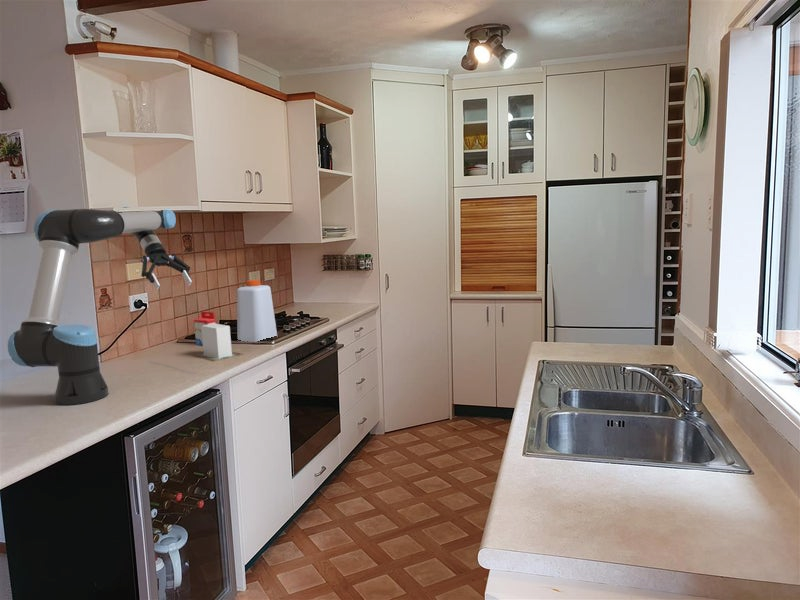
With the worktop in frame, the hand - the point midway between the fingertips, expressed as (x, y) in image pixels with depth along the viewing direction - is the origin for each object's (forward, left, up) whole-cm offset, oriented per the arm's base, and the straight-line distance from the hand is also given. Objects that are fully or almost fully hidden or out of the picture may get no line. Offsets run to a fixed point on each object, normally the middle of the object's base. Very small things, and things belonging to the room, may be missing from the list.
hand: (174, 285), depth 238 cm
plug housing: (+8, -15, -28) cm, 33 cm away
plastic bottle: (+37, -1, -30) cm, 48 cm away
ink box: (+20, +14, -30) cm, 39 cm away
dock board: (+8, -15, -30) cm, 34 cm away
